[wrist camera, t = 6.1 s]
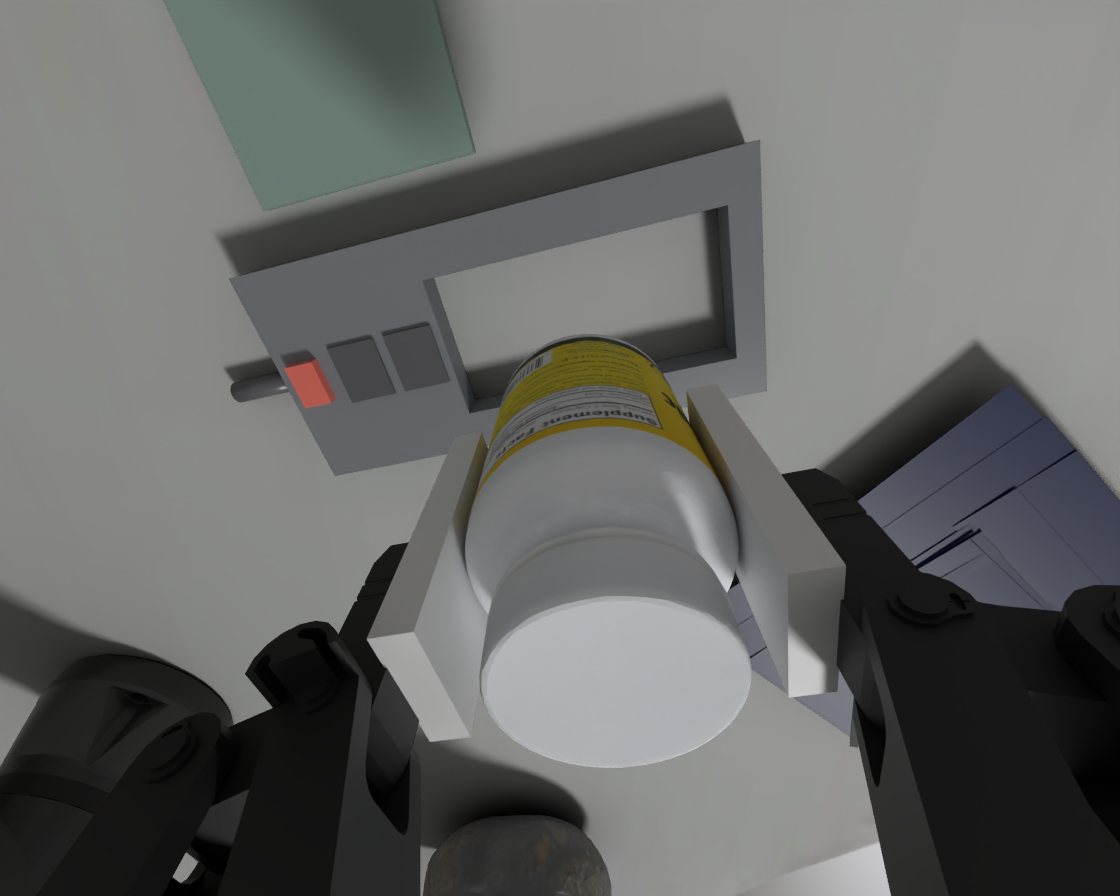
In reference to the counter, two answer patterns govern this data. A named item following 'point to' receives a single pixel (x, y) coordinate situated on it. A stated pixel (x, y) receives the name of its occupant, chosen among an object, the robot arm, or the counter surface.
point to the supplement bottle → (604, 564)
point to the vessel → (517, 860)
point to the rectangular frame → (423, 328)
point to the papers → (985, 523)
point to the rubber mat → (326, 89)
